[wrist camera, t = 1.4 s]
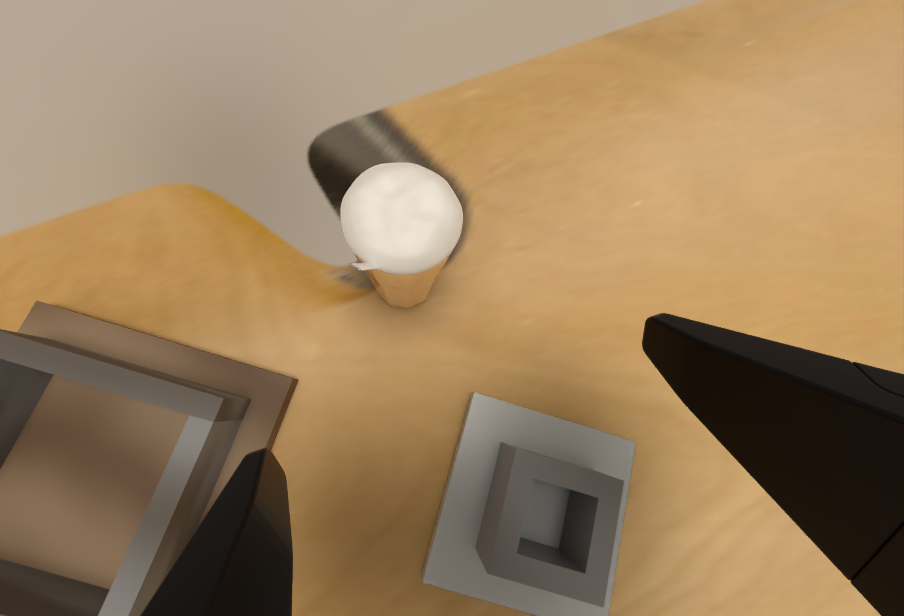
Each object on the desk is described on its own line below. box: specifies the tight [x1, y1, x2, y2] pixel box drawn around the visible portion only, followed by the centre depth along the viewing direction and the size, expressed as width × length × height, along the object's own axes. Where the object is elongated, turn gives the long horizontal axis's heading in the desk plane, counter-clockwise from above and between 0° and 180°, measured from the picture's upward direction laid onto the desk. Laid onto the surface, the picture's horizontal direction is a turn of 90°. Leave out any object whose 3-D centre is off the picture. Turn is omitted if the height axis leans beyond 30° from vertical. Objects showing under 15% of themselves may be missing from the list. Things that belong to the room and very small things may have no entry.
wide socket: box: [0, 301, 298, 616], centre depth 17 cm, size 13×13×4 cm
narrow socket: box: [422, 392, 636, 616], centre depth 19 cm, size 9×9×4 cm
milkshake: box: [341, 163, 463, 309], centre depth 18 cm, size 4×5×10 cm
